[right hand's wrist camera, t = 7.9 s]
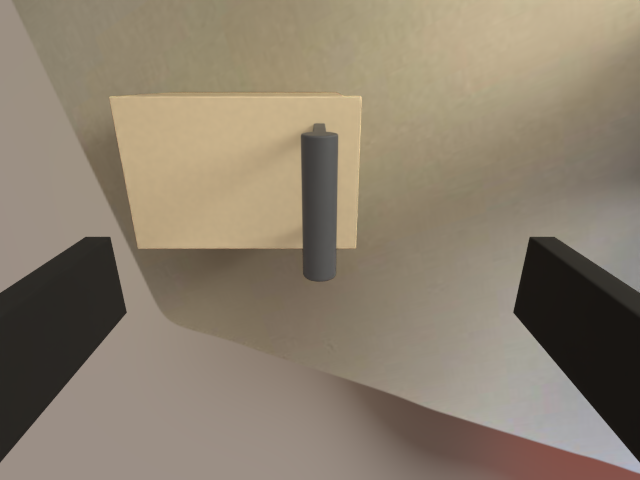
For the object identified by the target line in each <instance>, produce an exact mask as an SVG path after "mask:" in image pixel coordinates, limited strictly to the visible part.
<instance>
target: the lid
mask: <svg viewBox="0 0 640 480" xmlns="http://www.w3.org/2000/svg"><path fill="white" fill-rule="evenodd" d="M109 100H110V105H111V111H112V116H113V121H114V126H115V132H116V137H117V142H118V147H119V153H120V158H121V163H122V168H123V174H124V179H125V184H126V189H127V194H128V200H129V205H130V210H131V215H132V221H133V226H134V231H135V236H136V242H137V247H138V249H303V275H304V277H305V278H307V279H309V280H311V281H319V282H320V281H328V280H331V279H332V278H334V277H335V275H336V249H355V248H356V238H357V211H358V185H359V158H360V132H361V105H362V97H361V96H110V97H109Z"/></svg>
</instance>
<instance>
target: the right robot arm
mask: <svg viewBox="0 0 640 480" xmlns="http://www.w3.org/2000/svg"><path fill="white" fill-rule="evenodd" d="M126 313H127V312H126V307H125V303H124V298H123V294H122V289H121V285H120V280H119V275H118V271H117V266H116V261H115V257H114V252H113V248H112V243H111V238H110V237H85V238H83V239H82V240H80V241H79V242H77V243H76V244H74V245H73V246H71V247H70V248H68V249H67V250H65V251H64V252H62V253H61V254H59V255H58V256H56V257H54V258H53V259H51V260H50V261H48V262H47V263H45V264H44V265H42V266H41V267H39V268H38V269H36V270H35V271H33V272H32V273H30V274H29V275H27V276H26V277H24V278H22V279H21V280H19V281H18V282H16V283H15V284H13V285H12V286H10V287H9V288H7V289H6V290H4V291H3V292H1V293H0V462H1V461H2V460H3V459H4V457H5V456H6V455H7V454H8V453H9V451H10V450H11V449H12V448H13V447H14V446H15V444H16V443H17V442H18V441H19V440H20V438H21V437H22V436H23V435H24V434H25V432H26V431H27V430H28V429H29V428H30V427H31V425H32V424H33V423H34V422H35V421H36V419H37V418H38V417H39V416H40V415H41V413H42V412H43V411H44V410H45V409H46V408H47V406H48V405H49V404H50V403H51V402H52V400H53V399H54V398H55V397H56V396H57V394H58V393H59V392H60V391H61V390H62V389H63V387H64V386H65V385H66V384H67V383H68V381H69V380H70V379H71V378H72V377H73V376H74V374H75V373H76V372H77V371H78V370H79V368H80V367H81V366H82V365H83V364H84V362H85V361H86V360H87V359H88V358H89V356H90V355H91V354H92V353H93V352H94V351H95V349H96V348H97V347H98V346H99V345H100V343H101V342H102V341H103V340H104V339H105V338H106V336H107V335H108V334H109V333H110V332H111V330H112V329H113V328H114V327H115V326H116V324H117V323H118V322H119V321H120V320H121V319H122V317H123V316H124V315H125V314H126ZM513 313H514V314H515V315H516V316H517V317H518V319H519V320H520V321H521V322H522V323H523V325H524V326H525V327H526V328H527V329H528V330H529V332H530V333H531V334H532V335H533V336H534V338H535V339H536V340H537V341H538V342H539V344H540V345H541V346H542V347H543V348H544V349H545V351H546V352H547V353H548V354H549V355H550V357H551V358H552V359H553V360H554V361H555V362H556V364H557V365H558V366H559V367H560V368H561V370H562V371H563V372H564V373H565V374H566V376H567V377H568V378H569V379H570V380H571V381H572V383H573V384H574V385H575V386H576V387H577V389H578V390H579V391H580V392H581V393H582V395H583V396H584V397H585V398H586V399H587V400H588V402H589V403H590V404H591V405H592V406H593V408H594V409H595V410H596V411H597V412H598V414H599V415H600V416H601V417H602V418H603V419H604V421H605V422H606V423H607V424H608V425H609V427H610V428H611V429H612V430H613V431H614V432H615V434H616V435H617V436H618V437H619V438H620V440H621V441H622V442H623V443H624V444H625V446H626V447H627V448H628V449H629V450H630V451H631V453H632V454H633V455H634V456H635V457H636V459H637V460H638V461H639V462H640V293H639V292H637V291H636V290H634V289H633V288H631V287H630V286H628V285H627V284H625V283H624V282H622V281H621V280H619V279H618V278H616V277H615V276H613V275H611V274H610V273H608V272H607V271H605V270H604V269H602V268H601V267H599V266H598V265H596V264H595V263H593V262H592V261H590V260H589V259H587V258H586V257H584V256H583V255H581V254H579V253H578V252H576V251H575V250H573V249H572V248H570V247H569V246H567V245H566V244H564V243H563V242H561V241H560V240H558V239H557V238H555V237H530V238H529V243H528V247H527V252H526V257H525V261H524V266H523V270H522V275H521V280H520V284H519V289H518V294H517V298H516V303H515V307H514V312H513Z"/></svg>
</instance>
